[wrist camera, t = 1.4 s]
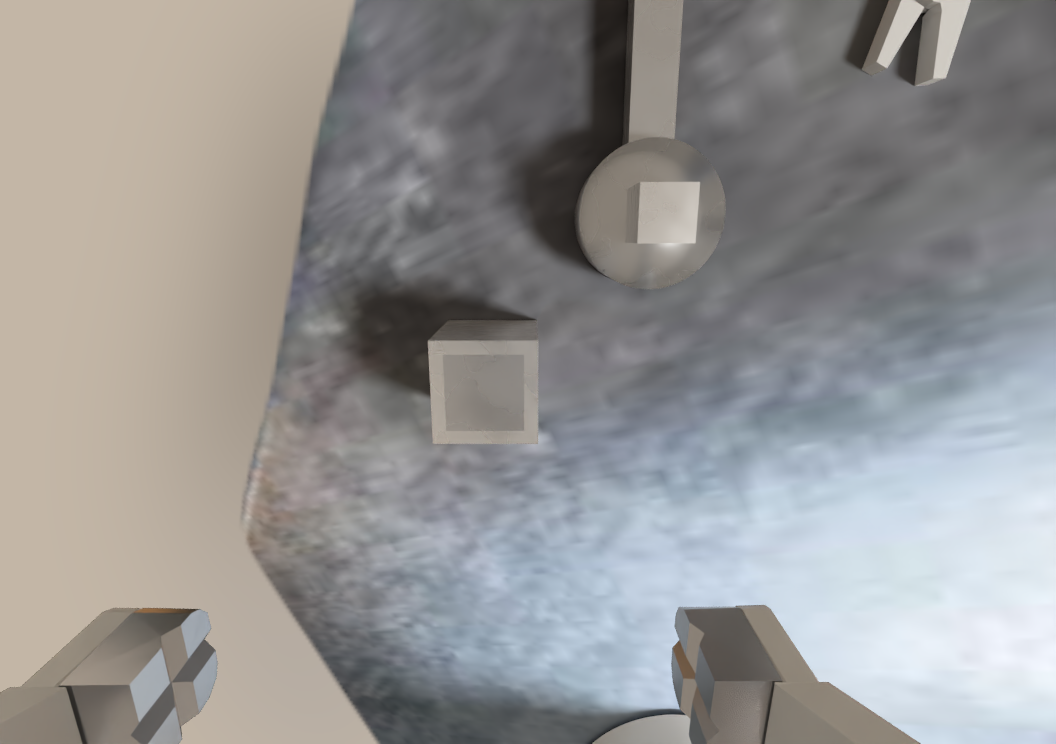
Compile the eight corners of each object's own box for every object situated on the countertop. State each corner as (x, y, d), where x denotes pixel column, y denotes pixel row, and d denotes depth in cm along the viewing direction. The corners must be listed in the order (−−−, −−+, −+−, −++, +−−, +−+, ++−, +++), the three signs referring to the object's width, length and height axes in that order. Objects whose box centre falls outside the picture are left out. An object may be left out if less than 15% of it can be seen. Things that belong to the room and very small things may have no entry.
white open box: (536, 404, 30) (537, 443, 25) (451, 404, 31) (433, 443, 25) (536, 320, 29) (538, 340, 23) (448, 320, 29) (427, 340, 23)
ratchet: (699, 283, 29) (742, 295, 23) (573, 284, 29) (583, 295, 23) (738, -201, 23) (808, -347, 17) (582, -200, 23) (599, -344, 18)
